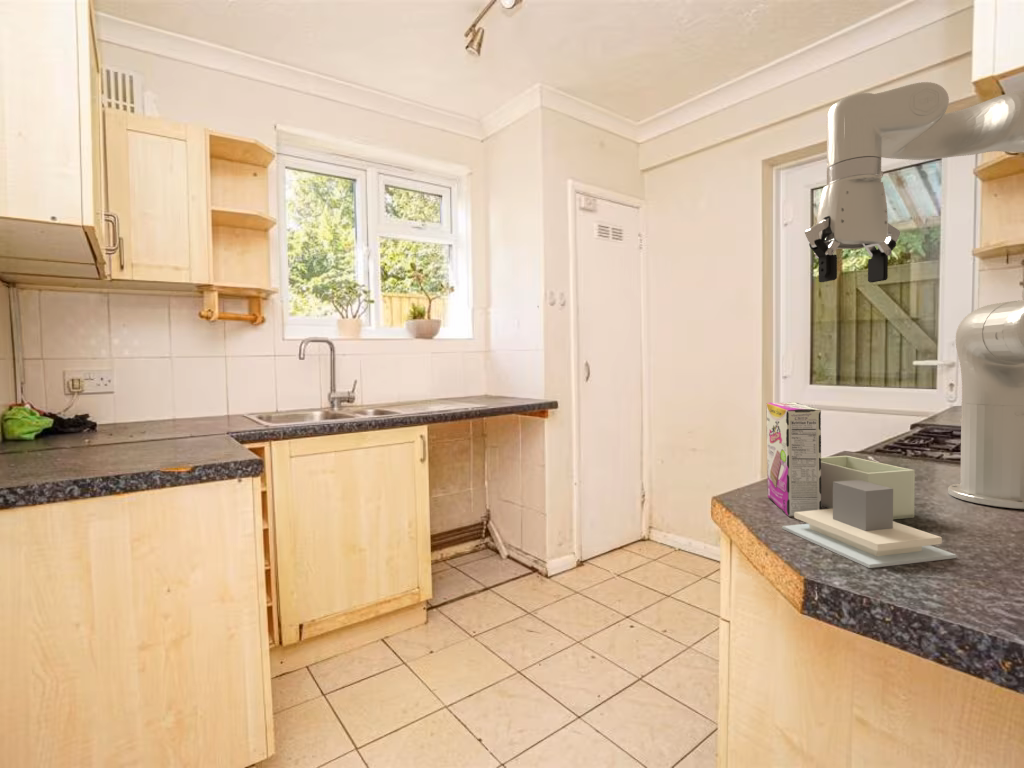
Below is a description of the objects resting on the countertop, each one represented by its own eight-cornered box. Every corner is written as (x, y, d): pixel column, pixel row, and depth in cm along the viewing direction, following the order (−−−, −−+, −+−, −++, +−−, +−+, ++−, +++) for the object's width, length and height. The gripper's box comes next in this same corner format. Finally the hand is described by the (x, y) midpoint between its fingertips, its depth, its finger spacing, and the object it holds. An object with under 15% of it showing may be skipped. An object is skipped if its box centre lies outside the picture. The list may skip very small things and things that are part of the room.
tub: (846, 496, 87) (846, 455, 87) (914, 517, 75) (914, 470, 75) (805, 500, 86) (805, 458, 85) (867, 521, 74) (868, 473, 73)
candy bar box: (765, 497, 88) (764, 402, 87) (797, 498, 87) (797, 401, 86) (786, 517, 77) (786, 408, 76) (823, 518, 76) (823, 408, 75)
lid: (849, 520, 73) (849, 472, 73) (941, 553, 61) (942, 495, 60) (794, 526, 72) (794, 476, 71) (877, 561, 59) (877, 501, 59)
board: (855, 521, 74) (855, 519, 74) (956, 557, 60) (956, 554, 60) (782, 528, 72) (782, 526, 72) (869, 568, 58) (869, 564, 58)
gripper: (877, 186, 90) (877, 284, 91) (790, 182, 87) (790, 284, 88) (918, 170, 83) (917, 277, 84) (825, 166, 80) (825, 277, 80)
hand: (852, 281), depth 86 cm, fingers open, 9 cm apart
